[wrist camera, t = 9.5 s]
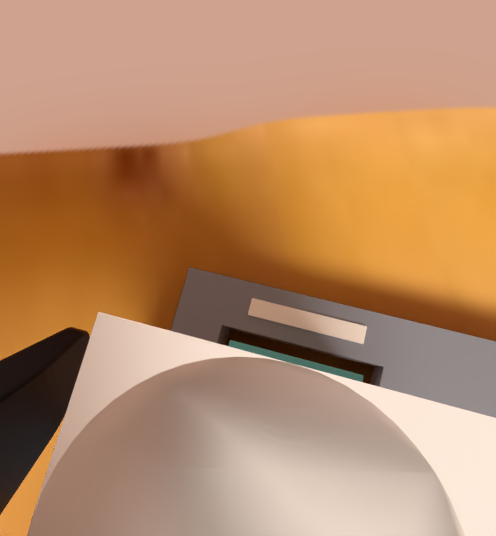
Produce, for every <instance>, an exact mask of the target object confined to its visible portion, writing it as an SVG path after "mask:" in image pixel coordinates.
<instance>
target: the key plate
mask: <svg viewBox="0 0 496 536" xmlns="http://www.w3.org/2000/svg"><path fill="white" fill-rule="evenodd" d="M230 329H232V330H236V331H240V332H243V333H247V334H251V335H255V336H259V337H263V338H266V339H270V340H274V341H278V342H282V343H286V344H289V345H293V346H297V347H301V348H305V349H309V350H312V351H316V352H320V353H324V354H328V355H332V356H335V357H339V358H343V359H347V360H351V361H355V362H358V363H362V364H366V365H370V366H374V368H373V373H372V377H371V382H370V384H371V385H375V386H378V387H382V388H386V389H390V390H393V391H397V392H401V393H404V394H408V395H412V396H416V397H419V398H423V399H427V400H431V401H434V402H438V403H442V404H445V405H449V406H453V407H457V408H460V409H464V410H468V411H472V412H475V413H479V414H483V415H487V416H490V417H494V418H496V341H492V340H487V339H483V338H479V337H475V336H471V335H467V334H463V333H459V332H455V331H450V330H446V329H442V328H438V327H434V326H430V325H426V324H422V323H418V322H413V321H409V320H405V319H401V318H397V317H393V316H389V315H385V314H381V313H376V312H372V311H368V310H364V309H360V308H356V307H352V306H348V305H344V304H339V303H335V302H331V301H327V300H323V299H319V298H315V297H311V296H307V295H303V294H298V293H294V292H290V291H286V290H282V289H278V288H274V287H270V286H266V285H261V284H257V283H253V282H249V281H245V280H241V279H237V278H233V277H229V276H224V275H220V274H216V273H212V272H208V271H204V270H200V269H196V268H192V267H189V270H188V273H187V276H186V280H185V283H184V287H183V290H182V294H181V297H180V301H179V304H178V307H177V311H176V314H175V318H174V321H173V325H172V328H171V331H173V332H177V333H180V334H184V335H188V336H192V337H195V338H199V339H203V340H207V341H210V342H214V343H218V344H222V345H226V342H227V338H228V334H229V330H230Z"/></svg>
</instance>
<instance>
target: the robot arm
mask: <svg viewBox="0 0 496 536" xmlns="http://www.w3.org/2000/svg"><path fill="white" fill-rule="evenodd" d="M89 339H90V337H89V334H88V332H87V331H84V330H81V329H77V328H73V327H69V328H66V329H64V330H62V331H60V332H58V333H56V334H54V335H52V336H50V337H48V338H46V339H44V340H42V341H39V342H37V343H35V344H33V345H31V346H29V347H27V348H25V349H23V350H21V351H19V352H17V353H15V354H13V355H11V356H9V357H7V358H5V359H3V360H1V361H0V514H1V513H2V511H3V510H4V508H5V507H6V505H7V504H8V502H9V501H10V499H11V498H12V496H13V495H14V493H15V492H16V490H17V489H18V487H19V486H20V484H21V483H22V482H23V480H24V479H25V477H26V476H27V474H28V473H29V471H30V470H31V468H32V467H33V465H34V464H35V462H36V461H37V459H38V458H39V456H40V455H41V453H42V452H43V450H44V449H45V447H46V446H47V444H48V443H49V441H50V440H51V438H52V437H53V435H54V433H55V432H56V430H57V429H58V427H59V425H60V423H61V421H62V420H63V418H64V416H65V414H66V411H67V408H68V405H69V402H70V398H71V395H72V392H73V389H74V386H75V383H76V380H77V377H78V374H79V370H80V367H81V364H82V361H83V358H84V355H85V352H86V349H87V346H88V343H89Z"/></svg>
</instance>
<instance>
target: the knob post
mask: <svg viewBox="0 0 496 536" xmlns="http://www.w3.org/2000/svg"><path fill="white" fill-rule="evenodd" d="M363 377H364V375H361V374H357V373H353V372H350V371H346V370H342V369H338V368H335V367H331V366H327V365H323V364H319V363H316V362H312V361H308V360H304V359H301V358H297V357H293V356H289V355H286V354H282V353H278V352H274V351H270V350H267V349H263V348H259V347H255V346H252V345H248V344H244V343H240V342H237V341H233V340H230V342H229V346H225V345H222V344H218V343H214V342H210V341H207V340H203V339H199V338H195V337H192V336H188V335H184V334H180V333H177V332H173V331H169V330H165V329H162V328H158V327H154V326H150V325H147V324H143V323H139V322H136V321H132V320H128V319H124V318H121V317H117V316H113V315H109V314H106V313H102V312H98V315H97V318H96V321H95V324H94V327H93V330H92V333H91V336H90V339H89V343H88V346H87V349H86V352H85V355H84V358H83V361H82V364H81V367H80V370H79V374H78V377H77V380H76V383H75V386H74V389H73V392H72V395H71V398H70V402H69V405H68V408H67V411H66V414H65V417H64V420H63V423H62V426H61V430H60V433H59V436H58V439H57V442H56V445H55V448H54V451H53V454H52V458H51V461H50V464H49V467H48V470H47V473H46V476H45V479H44V482H43V486H42V489H41V492H40V495H39V498H38V501H37V504H36V507H35V510H34V514H33V517H32V520H31V524H30V527H29V531H28V535H27V536H496V418H494V417H490V416H487V415H483V414H479V413H475V412H472V411H468V410H464V409H460V408H457V407H453V406H449V405H445V404H442V403H438V402H434V401H431V400H427V399H423V398H419V397H416V396H412V395H408V394H404V393H401V392H397V391H393V390H390V389H386V388H382V387H378V386H375V385H371V384H367V383H363Z"/></svg>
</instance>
